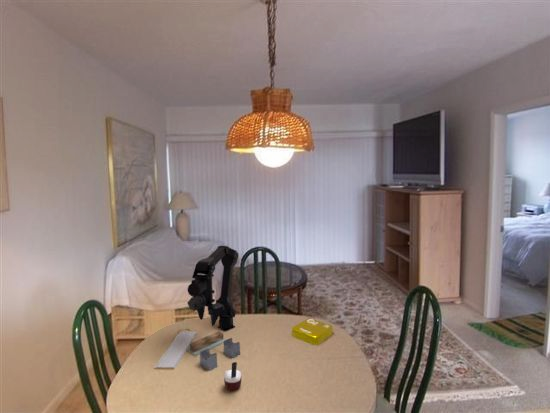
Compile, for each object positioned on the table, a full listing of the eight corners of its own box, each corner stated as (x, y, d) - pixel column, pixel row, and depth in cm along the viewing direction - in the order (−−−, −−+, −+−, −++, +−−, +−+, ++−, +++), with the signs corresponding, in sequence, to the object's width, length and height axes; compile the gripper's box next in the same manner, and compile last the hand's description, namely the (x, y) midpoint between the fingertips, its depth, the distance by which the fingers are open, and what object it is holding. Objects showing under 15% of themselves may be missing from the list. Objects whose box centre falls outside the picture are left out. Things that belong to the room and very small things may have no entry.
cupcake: (227, 380, 127) (225, 349, 127) (244, 380, 127) (242, 349, 126) (221, 396, 118) (219, 362, 117) (239, 396, 117) (237, 362, 117)
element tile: (290, 336, 161) (290, 326, 160) (308, 325, 172) (308, 316, 171) (316, 346, 151) (316, 336, 150) (334, 334, 162) (334, 324, 161)
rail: (219, 337, 159) (219, 330, 159) (223, 339, 157) (223, 332, 157) (189, 350, 148) (189, 343, 148) (193, 352, 146) (193, 346, 146)
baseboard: (150, 370, 135) (174, 370, 135) (149, 363, 135) (174, 364, 135) (176, 334, 165) (196, 334, 165) (176, 328, 165) (196, 329, 165)
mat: (218, 336, 161) (218, 335, 161) (227, 341, 156) (227, 340, 156) (186, 350, 149) (186, 349, 149) (195, 356, 144) (195, 354, 144)
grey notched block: (208, 361, 140) (208, 348, 140) (217, 366, 136) (216, 353, 135) (200, 365, 137) (199, 352, 137) (208, 371, 133) (208, 357, 133)
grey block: (231, 350, 149) (230, 337, 148) (240, 354, 145) (239, 342, 144) (224, 353, 146) (223, 341, 145) (232, 358, 142) (232, 346, 141)
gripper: (178, 288, 151) (180, 322, 152) (202, 299, 138) (203, 335, 139) (200, 282, 159) (201, 314, 160) (224, 291, 146) (225, 326, 147)
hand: (207, 322), depth 151 cm, fingers open, 9 cm apart
